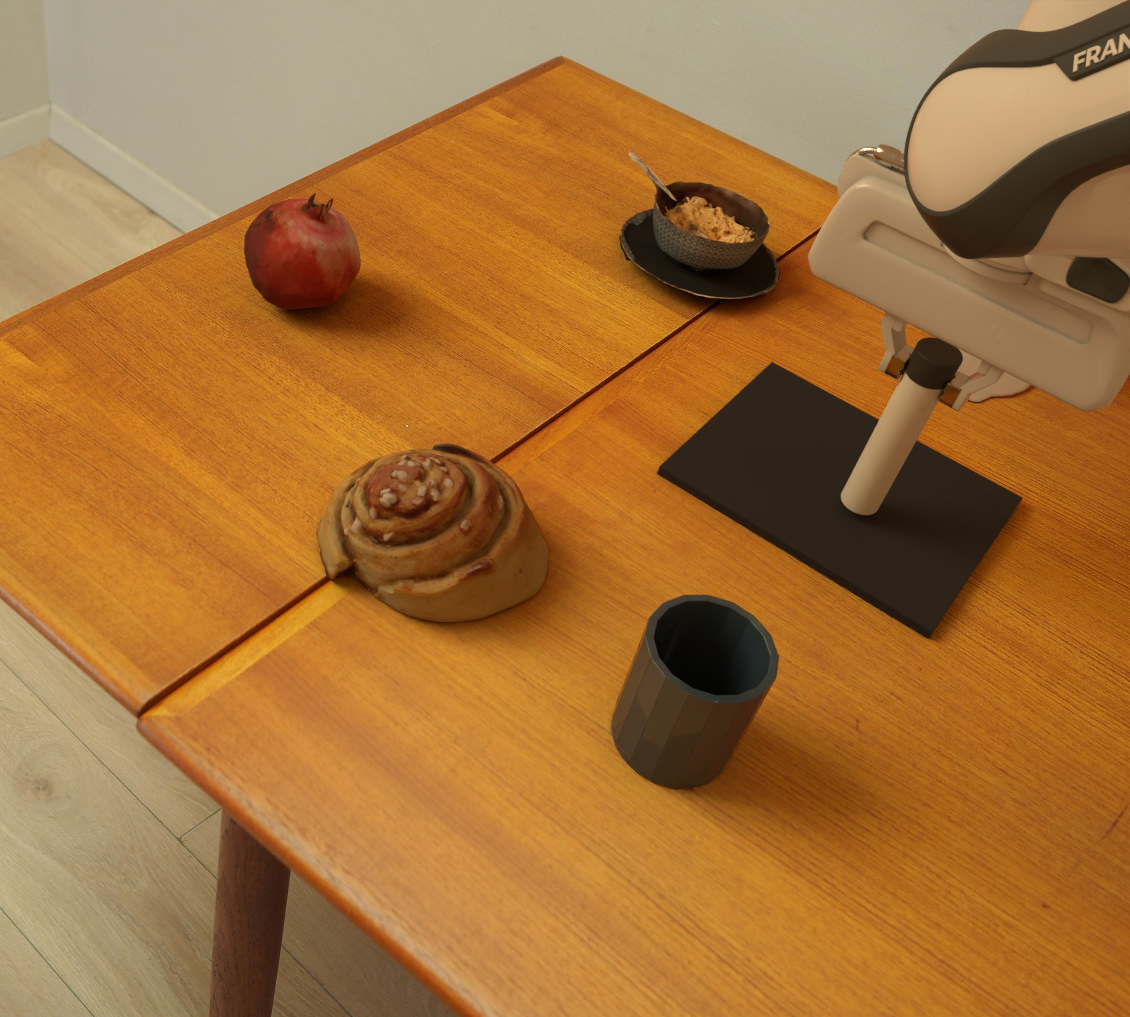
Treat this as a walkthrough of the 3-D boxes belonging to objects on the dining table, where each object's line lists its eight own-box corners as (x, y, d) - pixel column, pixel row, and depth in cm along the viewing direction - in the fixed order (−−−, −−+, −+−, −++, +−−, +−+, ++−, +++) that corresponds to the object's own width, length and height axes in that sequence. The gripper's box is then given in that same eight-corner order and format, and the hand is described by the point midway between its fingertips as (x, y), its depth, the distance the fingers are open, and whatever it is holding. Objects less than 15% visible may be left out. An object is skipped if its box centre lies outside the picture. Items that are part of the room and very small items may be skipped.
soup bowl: (682, 327, 99) (706, 255, 94) (578, 229, 108) (595, 157, 103) (809, 290, 106) (837, 220, 100) (700, 200, 114) (722, 131, 109)
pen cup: (752, 733, 71) (801, 645, 64) (691, 813, 66) (737, 727, 60) (652, 664, 74) (689, 573, 67) (587, 736, 69) (620, 647, 63)
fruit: (220, 292, 95) (217, 184, 88) (303, 250, 101) (306, 146, 93) (298, 345, 92) (301, 237, 84) (380, 298, 97) (389, 194, 90)
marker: (886, 501, 85) (970, 352, 75) (869, 522, 83) (953, 372, 73) (849, 481, 86) (927, 331, 76) (832, 501, 84) (909, 350, 74)
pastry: (293, 507, 79) (295, 421, 74) (488, 462, 85) (504, 378, 79) (363, 655, 71) (372, 572, 66) (573, 594, 77) (598, 512, 71)
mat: (1018, 504, 88) (1023, 497, 88) (928, 639, 78) (933, 631, 77) (769, 368, 97) (772, 361, 96) (656, 473, 86) (659, 465, 86)
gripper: (835, 149, 68) (762, 334, 78) (1181, 305, 61) (1052, 488, 71) (879, 116, 72) (804, 297, 82) (1209, 260, 65) (1083, 440, 74)
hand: (921, 387), depth 76 cm, fingers closed on marker, 3 cm apart
